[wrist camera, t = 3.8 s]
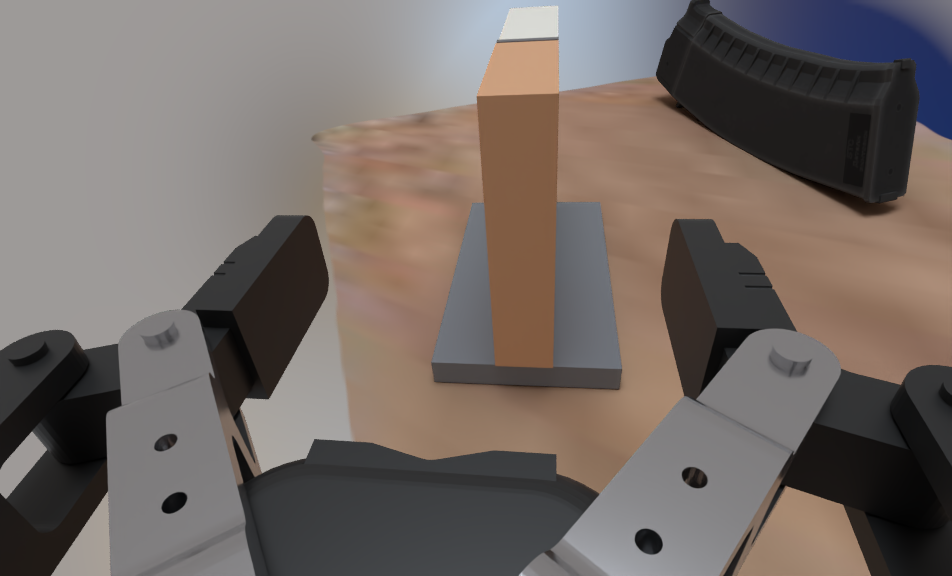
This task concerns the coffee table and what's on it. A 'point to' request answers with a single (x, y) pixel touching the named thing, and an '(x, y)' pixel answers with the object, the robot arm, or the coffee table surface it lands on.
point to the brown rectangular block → (521, 197)
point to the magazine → (796, 104)
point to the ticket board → (576, 285)
